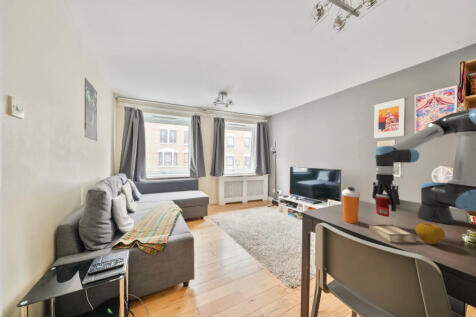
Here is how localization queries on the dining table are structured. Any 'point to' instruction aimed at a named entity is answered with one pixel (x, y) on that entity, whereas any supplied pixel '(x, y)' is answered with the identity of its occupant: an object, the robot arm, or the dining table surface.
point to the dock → (392, 233)
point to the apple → (430, 233)
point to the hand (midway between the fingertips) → (385, 214)
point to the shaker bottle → (350, 205)
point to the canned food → (382, 204)
